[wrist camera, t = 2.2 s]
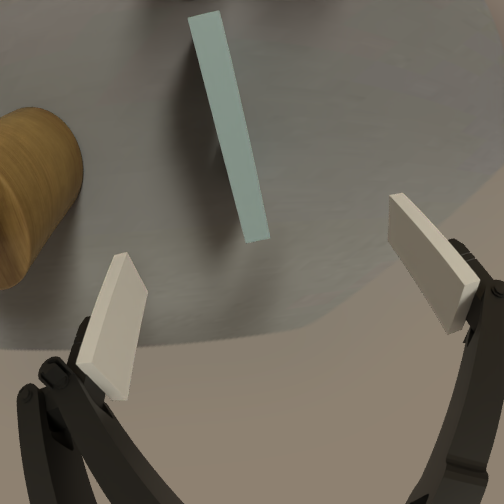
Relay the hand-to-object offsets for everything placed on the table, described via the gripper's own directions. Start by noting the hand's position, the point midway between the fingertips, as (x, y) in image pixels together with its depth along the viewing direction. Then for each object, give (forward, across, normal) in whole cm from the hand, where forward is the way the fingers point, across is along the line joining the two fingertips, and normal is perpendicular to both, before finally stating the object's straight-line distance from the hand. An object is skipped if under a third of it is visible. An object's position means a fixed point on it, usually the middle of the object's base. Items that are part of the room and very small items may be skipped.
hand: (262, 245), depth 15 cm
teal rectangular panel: (+12, 0, +4) cm, 13 cm away
